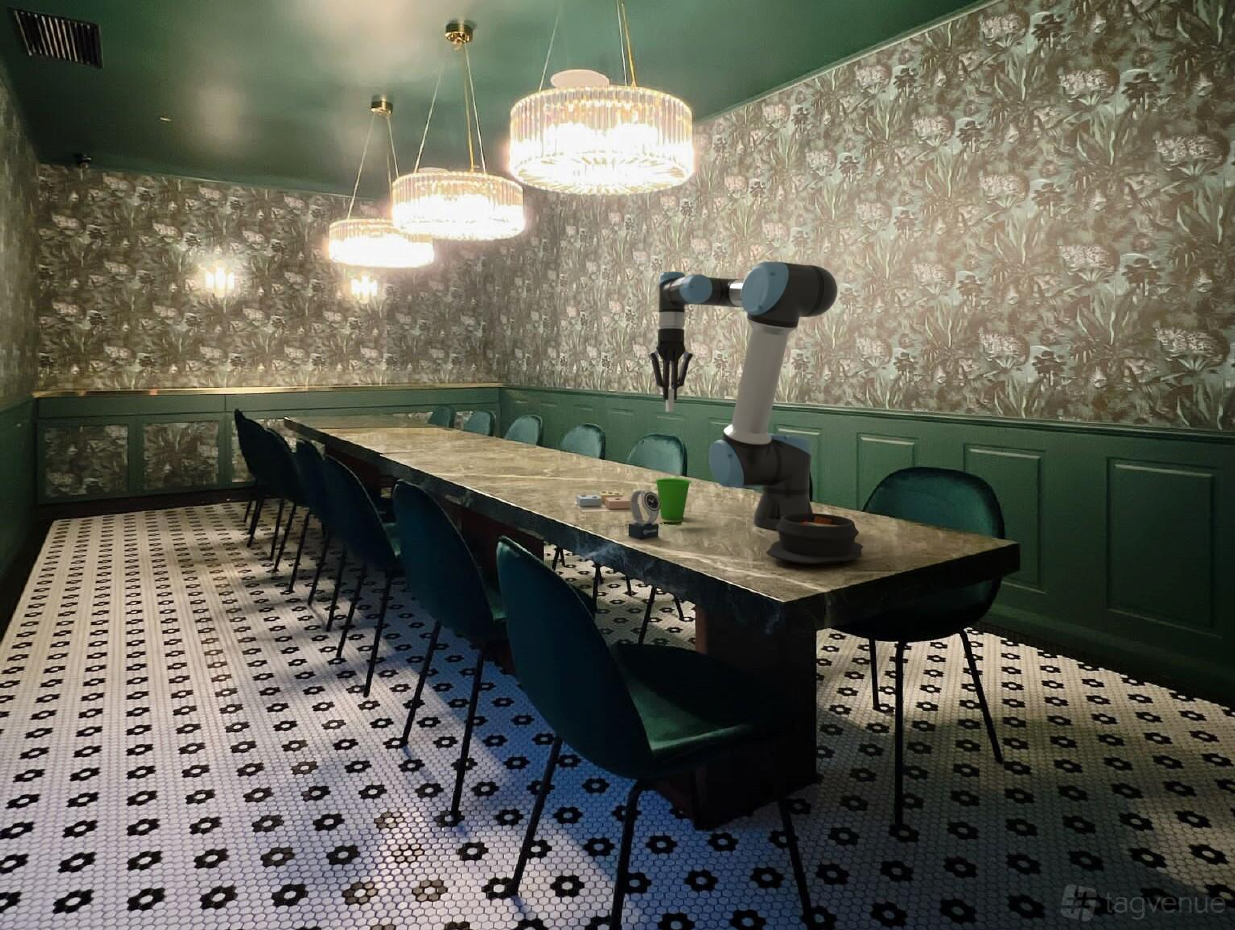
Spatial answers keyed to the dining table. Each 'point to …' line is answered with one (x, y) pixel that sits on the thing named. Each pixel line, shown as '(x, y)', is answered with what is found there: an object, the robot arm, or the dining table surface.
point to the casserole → (816, 539)
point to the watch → (641, 527)
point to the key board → (597, 508)
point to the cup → (672, 498)
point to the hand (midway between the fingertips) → (669, 411)
